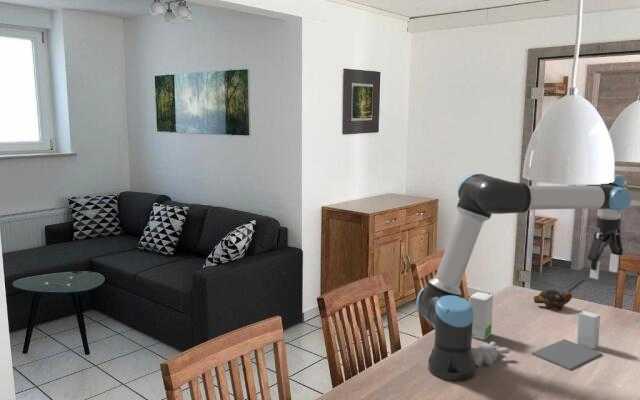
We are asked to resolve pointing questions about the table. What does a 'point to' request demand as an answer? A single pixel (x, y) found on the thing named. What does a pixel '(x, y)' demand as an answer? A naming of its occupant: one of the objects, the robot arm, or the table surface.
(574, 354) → the mat
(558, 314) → the table surface
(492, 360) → the bunny figurine
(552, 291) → the decorative turtle
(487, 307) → the skincare box
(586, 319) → the skincare box
